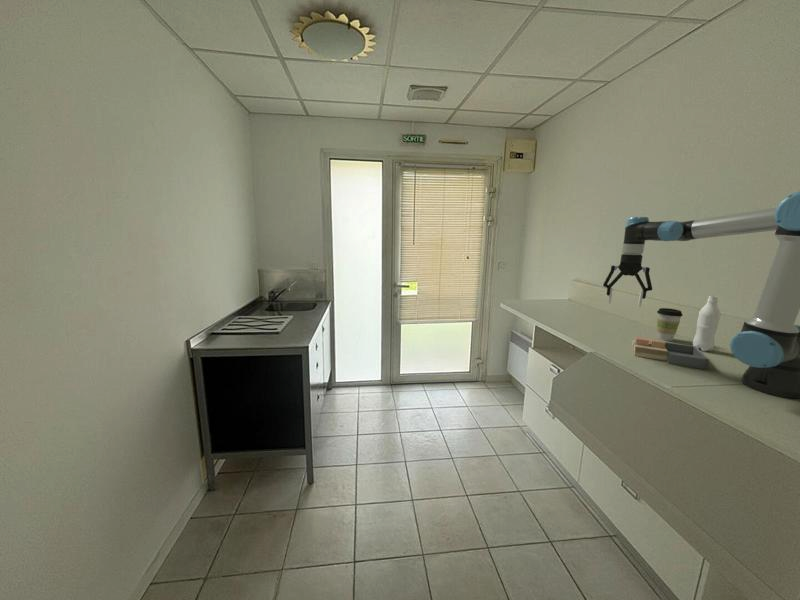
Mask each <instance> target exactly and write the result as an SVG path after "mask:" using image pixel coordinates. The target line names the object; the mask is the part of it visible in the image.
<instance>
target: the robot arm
mask: <svg viewBox="0 0 800 600" xmlns="http://www.w3.org/2000/svg"><path fill="white" fill-rule="evenodd" d="M649 219H650V218H649V217H648V216H631V217H628V218H627V220H626V225H625V227H624V229H625V230H624V237H623V243H622V249H621V253H622V254H621V255H620V263H619V265H613V264H612V265H610V266H611V267H610V271H609V273H608V274H607V276H606V278H605V279H604V282H603V285H602V286H603V287H604V288H606V296H608V300H607V301H608V304H611V303H612V302H611V301H612V295H613V290H614V289H613V286H614V285H615V284H617V282H618V281H619V279H621V278H622V277H623V276H626V277H627V276H629V277H630V276H631V277H633V276H634V277H635V279H636V280H637V282H638V284H639V286H640V287H641V289H642V290H640V291H639V297H638V303H637V305H638V307H642V301H643V300H644V299H646V297H647V292H649V291H652V290H653V286H652V285H653V284H652V281H651V276H650V271H651V270H650V269H651V268H650V267H648V266H645V267H644V266H642V261H643V255H642V254H644V251H645V243H646V241H653V242H654V241H655V242H656V241H658V242H659V241H660V242H678V241H679V242H687V241H692V240H700V239H709V238H710V239H711V238H718V237H719V238H720V237H727V236H735V235H744V234H754V233H763V232H773V231H775V232H774V236H775V238H776V239H778V246H777V248H776V251H775V254H774V257H773V260H772V263H771V265H770V269H769V271H768V273H767V277H766V280H765V282H764V286H763V288H762V291H761V294H760V297H759V299H758V302H757V306H756V308H755V311H754V314H753V316H752V317H749V318H746V319H745V320H744V323H743V325H742V327H741V330H740V332H738V333H736V334H735V335H734V336H733V337H732V338H731V340H730V343H729V347H730V348H729V349H730V351H731V353H732V355H733V356H734V357H735V359H737V360H738V362H741V363H742V364H744V365H746V366H748V367H747V368H746V370H745V371H744V372H743V374H742V375H741V379H740V380H741V381H740V382H741V383H742V384H743V385H744V386H746V387H749V388H751V389H753V390H755V391H760V392H762V393H765V394H769V395H771V396H772V395H773V396H776V397H781V398H788V399H798V400H800V325H798V324H795V322H796V321H797V317H798V314H799V312H800V190H798V191H797V190H796V191H795V192H793V193H791V194H788V196H786V197H785V198H783V199H782V200H781V201H780V202H779V203H778V205H777V206H776V207H772V208H771V207H770V208H765V209H758V210H752V211H746V212H739V213H732V214H728V215H727V214H726V215H719V216H714V217H705V218H700V219H694V220H687V221H678V220H677V221H675V220H663V221H650V220H649ZM617 270H619V271H620V272H619V273H618V274H617V275H616V276H615V278H614V279H612V280H611V282H610V279H611V278H612V276H613V275H614V273H615V271H617ZM640 271H642V272H643V273H644V277H645V281H646V284H647V285H646V286H647V287H646V286H645V284H644V282H643V280H642V278H641V277H640V275H639V273H640ZM609 282H610V283H609Z"/></svg>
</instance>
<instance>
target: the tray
mask: <svg viewBox="0 0 800 600" xmlns="http://www.w3.org/2000/svg"><path fill="white" fill-rule="evenodd" d="M664 342H665V348H666V349H667V351H668V356H667V361H666V362H667V364H670V365H677V366H683V367H688V368H696V369H700V370H701V369H702V370H707V369H708V366H709V363H710V362H709V361H710V359H708V357H707V356H706V355H705V354H704V353H703V351H702V350H700V349H698V348H697V347H696V346H693V345H689V344H681V343H674V342H670V341H664Z"/></svg>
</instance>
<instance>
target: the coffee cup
mask: <svg viewBox="0 0 800 600" xmlns="http://www.w3.org/2000/svg"><path fill="white" fill-rule="evenodd" d="M656 313H657V319H656V320H657V321H656V339H659V340H664V342H672V341H673V340H674V339H675V335H676V333H677V331H678V328H679V324H680V323H681V318H682V317H683V313H682V310H679V309H675V308H667V307H661V308H659V309H658V310H657V311H656Z"/></svg>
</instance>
